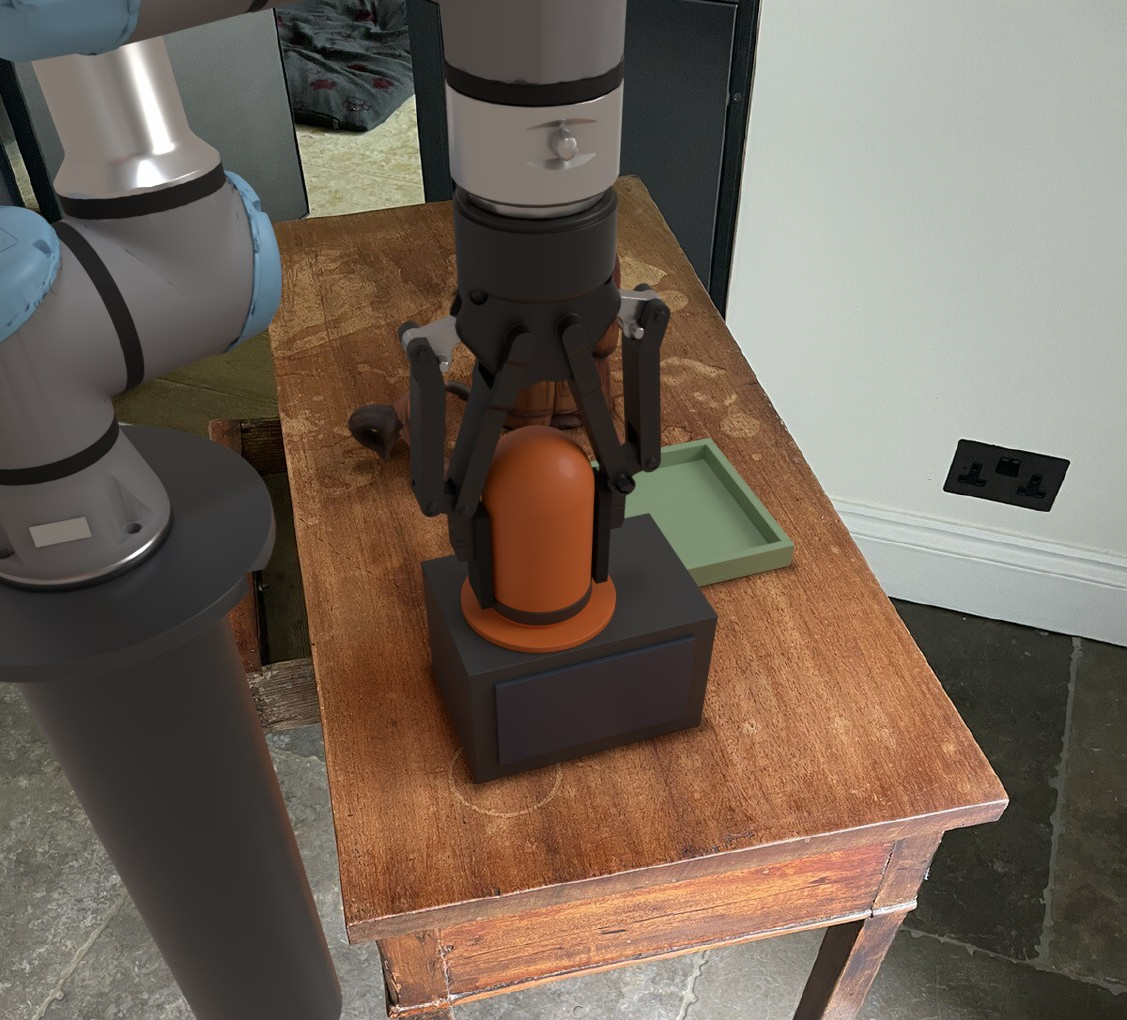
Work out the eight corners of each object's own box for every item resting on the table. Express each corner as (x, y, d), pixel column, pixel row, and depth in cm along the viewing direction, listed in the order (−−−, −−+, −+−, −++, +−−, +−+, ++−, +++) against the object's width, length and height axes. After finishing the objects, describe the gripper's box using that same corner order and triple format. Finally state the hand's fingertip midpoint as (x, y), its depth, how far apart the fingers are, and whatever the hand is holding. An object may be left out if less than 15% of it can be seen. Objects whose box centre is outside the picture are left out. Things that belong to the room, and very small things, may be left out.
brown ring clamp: (466, 424, 98) (494, 370, 90) (479, 517, 95) (509, 470, 88) (335, 413, 93) (353, 355, 86) (345, 511, 91) (365, 460, 83)
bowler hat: (443, 568, 68) (427, 404, 59) (583, 538, 70) (589, 375, 61) (487, 669, 62) (477, 502, 53) (639, 632, 64) (653, 467, 56)
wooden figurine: (495, 441, 95) (486, 235, 82) (480, 403, 99) (469, 201, 86) (621, 423, 97) (633, 220, 84) (601, 387, 101) (610, 187, 88)
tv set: (432, 671, 76) (420, 561, 69) (639, 622, 80) (649, 512, 72) (478, 787, 69) (469, 679, 62) (702, 727, 73) (720, 618, 65)
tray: (540, 492, 90) (539, 471, 89) (707, 458, 94) (710, 437, 92) (606, 608, 81) (607, 587, 79) (790, 565, 84) (794, 544, 83)
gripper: (337, 250, 43) (397, 658, 61) (768, 189, 48) (709, 585, 65) (302, 179, 48) (367, 577, 65) (699, 129, 52) (661, 514, 70)
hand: (538, 581), depth 65 cm, fingers closed on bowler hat, 7 cm apart
